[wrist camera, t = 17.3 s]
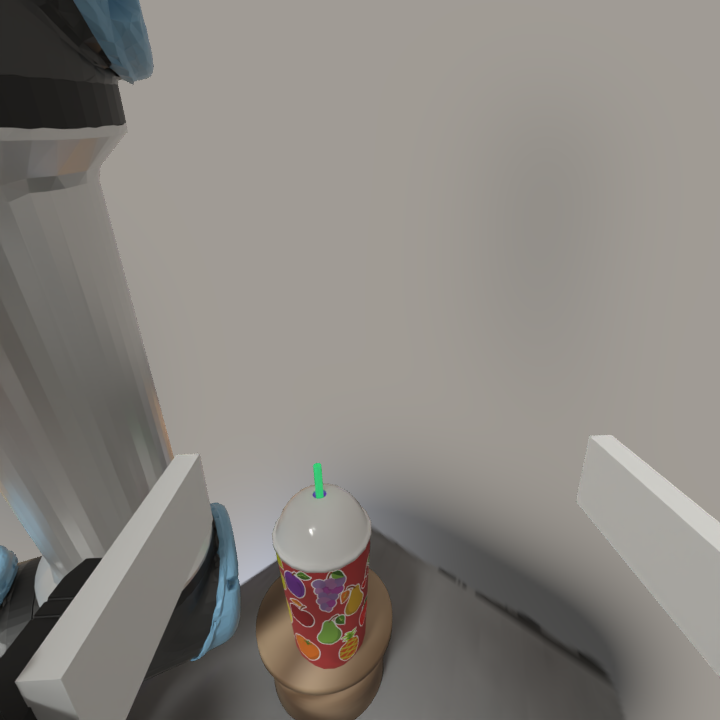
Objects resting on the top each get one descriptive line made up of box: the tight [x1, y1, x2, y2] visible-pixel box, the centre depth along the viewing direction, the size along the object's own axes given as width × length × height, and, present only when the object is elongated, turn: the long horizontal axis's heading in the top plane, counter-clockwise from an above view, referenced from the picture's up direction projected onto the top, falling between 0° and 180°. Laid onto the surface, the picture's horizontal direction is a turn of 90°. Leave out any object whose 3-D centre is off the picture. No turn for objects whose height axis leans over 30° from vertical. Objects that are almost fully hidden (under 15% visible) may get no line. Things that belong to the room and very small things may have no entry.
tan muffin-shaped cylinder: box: [256, 568, 392, 720], centre depth 41 cm, size 14×14×8 cm
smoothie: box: [272, 463, 371, 669], centre depth 34 cm, size 8×8×20 cm
